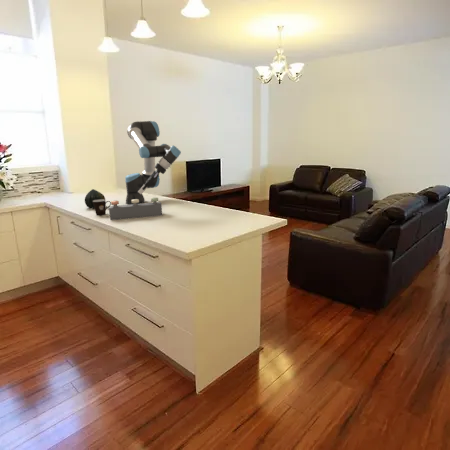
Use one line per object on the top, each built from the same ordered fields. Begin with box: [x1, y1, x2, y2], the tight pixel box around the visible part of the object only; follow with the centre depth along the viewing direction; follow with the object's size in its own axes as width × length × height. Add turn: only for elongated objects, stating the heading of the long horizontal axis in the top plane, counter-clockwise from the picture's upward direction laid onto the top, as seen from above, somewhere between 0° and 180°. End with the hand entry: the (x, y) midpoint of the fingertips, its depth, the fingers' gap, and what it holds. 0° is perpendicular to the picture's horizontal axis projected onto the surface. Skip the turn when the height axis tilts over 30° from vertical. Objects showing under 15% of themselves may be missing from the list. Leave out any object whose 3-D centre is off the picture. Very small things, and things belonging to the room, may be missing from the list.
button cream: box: [131, 199, 139, 206], centre depth 229 cm, size 5×5×5 cm
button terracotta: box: [110, 200, 120, 207], centre depth 226 cm, size 5×5×5 cm
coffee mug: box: [93, 199, 112, 216], centre depth 241 cm, size 12×9×10 cm
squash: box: [84, 188, 106, 209], centre depth 264 cm, size 14×15×15 cm
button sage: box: [150, 197, 159, 204], centre depth 232 cm, size 5×5×5 cm
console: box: [108, 201, 163, 221], centre depth 230 cm, size 34×7×8 cm, turn 103°
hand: (139, 193), depth 227 cm, fingers closed
